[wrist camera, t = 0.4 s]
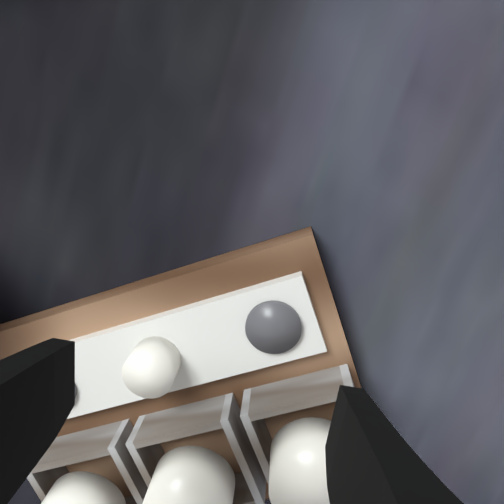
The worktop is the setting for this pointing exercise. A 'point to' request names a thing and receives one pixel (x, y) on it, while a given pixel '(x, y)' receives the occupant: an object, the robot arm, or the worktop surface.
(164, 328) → the strip
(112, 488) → the button far
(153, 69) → the worktop surface
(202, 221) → the worktop surface
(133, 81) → the worktop surface
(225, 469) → the button mid
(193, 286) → the console
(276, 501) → the button near
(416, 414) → the worktop surface
